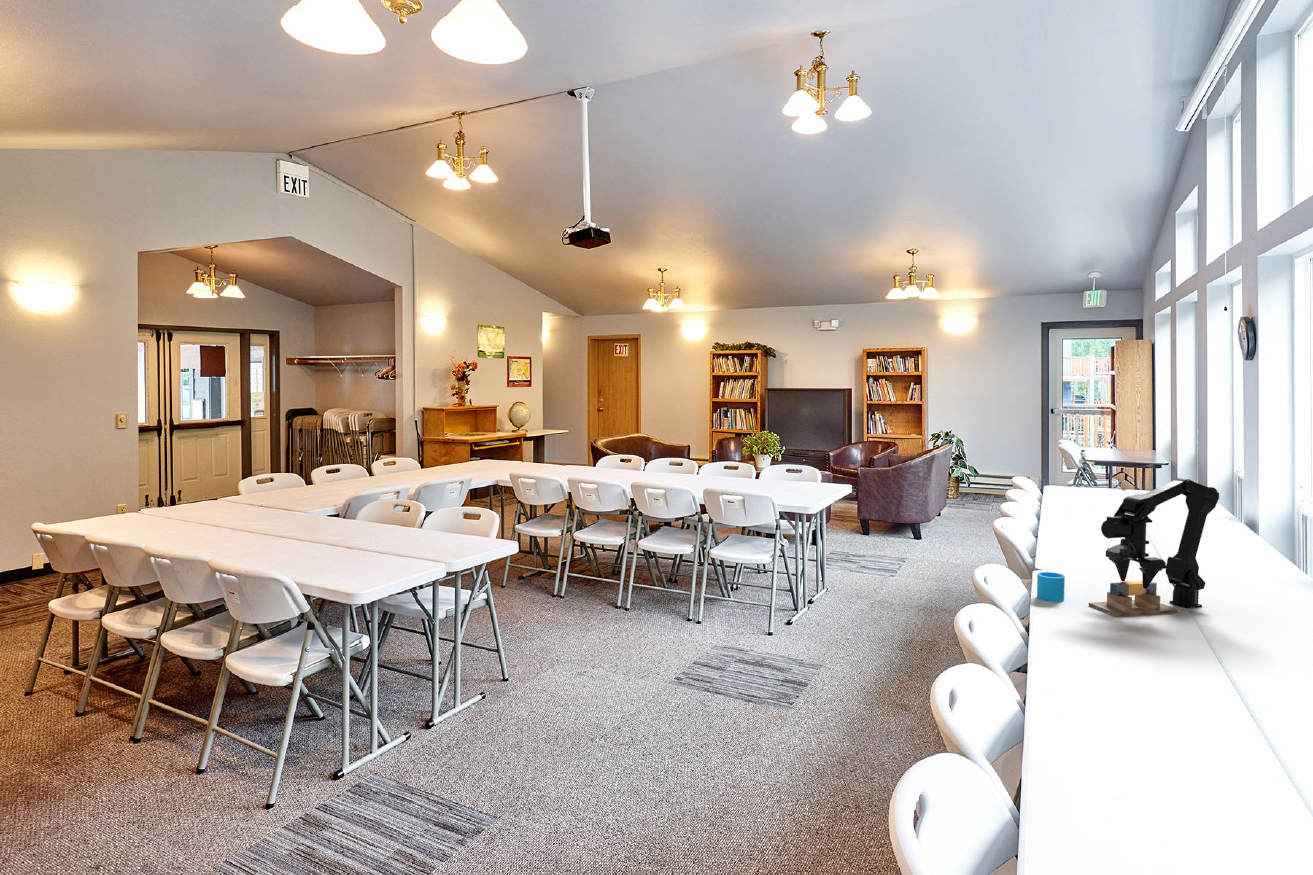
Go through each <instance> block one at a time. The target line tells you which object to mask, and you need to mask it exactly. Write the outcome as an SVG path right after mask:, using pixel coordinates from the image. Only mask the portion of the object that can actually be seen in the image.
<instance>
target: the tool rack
mask: <svg viewBox="0 0 1313 875" xmlns="http://www.w3.org/2000/svg"><path fill="white" fill-rule="evenodd" d="M1088 607H1090V608H1093V609H1095V610H1098V611H1101V612H1102V613H1103V612H1104V613H1105V614H1107V615H1110V616H1113V617H1116V618H1118V617H1119V618H1120V617H1121V618H1122V617H1133V616H1134V617H1135V616H1136V617H1137V616H1150V615H1164V614H1165V615H1166V614H1178V613H1180V609H1179V608H1175V607H1173V606H1171V605H1166V604H1164V603H1161V595H1159V594H1157V591H1156V592H1155V591H1152V594H1147V595H1134V599H1133V597H1131V596H1128V593H1124V596H1115V595H1112V594H1110V591H1107V592H1106V601H1098V602H1097V601H1095V602H1088Z"/></svg>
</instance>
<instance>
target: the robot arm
mask: <svg viewBox="0 0 1313 875" xmlns="http://www.w3.org/2000/svg"><path fill="white" fill-rule="evenodd" d="M1180 495H1183V496H1185V504H1186V507H1187V510H1188V511H1187V515H1186V516H1187V517H1186V520H1185V524H1184V527H1183V530H1182V534H1181V539H1180V542H1179V546H1178V550H1177V552H1176V554H1174V555H1173V556H1168V557H1167V558H1166V559H1167V560H1166V561H1165V560H1164V559H1163V558H1159V557H1154V556H1152V557H1149V555H1150V554H1149V553H1147V552H1146V547H1147V546H1146V545H1150V540H1147V524H1148V523H1150V524H1151V523H1153V519H1151V518H1150V517H1149V515H1150V514H1151V513H1153V512H1154V511H1155V509H1156V508H1157V507H1158V506H1159V505H1161V504H1164V503H1165V502H1168V501H1170V500H1171V499H1174V498H1176V497H1178V496H1180ZM1219 499H1220V493H1219V491H1218V489H1217V488H1216V487H1213V486H1206V485H1204V484H1200V483H1198V482H1195V481H1194V480H1191V479H1188V478H1180V477H1177V478H1174V479H1173V480H1172V481H1170V482H1168V483H1166V484H1164V485H1161V486H1159V487H1157V488H1155V489H1153V490H1152V489H1151V490H1150V491H1148V492H1146V493H1140V494H1132V495H1128V496H1126V497H1124V499H1123V500H1122V502H1121V503H1120V506H1119V507H1118V509H1117V510H1116V512H1115V513H1114V515H1113V516H1109V515H1108V516H1107V517H1106V520H1104V521H1103V523H1102V524H1101V526H1100V531H1101V533H1102V535H1103V536H1104V537H1105V538H1106V539H1119V538H1121V540H1120V543H1119V544H1116V545H1114V546H1111V547H1109V548H1107V549H1106V550H1105V557H1106V558H1108V560H1109V561H1111V562H1112V563H1113V564H1114V566H1115V567H1116V570H1117V573H1118V576H1119V578H1120V581H1121V582H1125V581H1126V579H1127V575H1128V573H1129V572H1128V571H1129V568H1130V563H1131V561H1133V562H1136V563H1138V565H1139V567H1138V569H1139V570H1140V572H1141V576H1142V580H1141V581H1143V588H1144V589H1147V588H1148V586H1149V585H1150V583H1151V582H1153V580H1154V579H1155V577H1156V576H1157V575H1158V574H1159V572H1160V571H1163V570H1165V574H1166V576H1167V580H1168V582H1169V584H1172V585H1173V590H1172V600H1169V603H1171V604H1173V605H1176V606H1179V607H1182V608H1185V609H1186V608H1201V607H1203V604H1200V603H1199V591H1201V590H1204V589H1205V586H1206V582H1205V580H1204V579H1203V578H1202V577H1201V576H1200V575H1199V572H1200V571H1199V569H1200V566H1199V563H1198V560H1197V553H1198V551H1199V547H1200V542H1201V539H1202V535H1203V531H1204V529H1205V528H1204V527H1205V524H1206V520H1207V517H1208V515H1209V514H1210V513H1211V512H1212V511H1213V510H1214V509H1215V508H1216V507H1217V504H1218V501H1219Z"/></svg>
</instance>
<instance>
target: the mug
mask: <svg viewBox="0 0 1313 875" xmlns="http://www.w3.org/2000/svg"><path fill="white" fill-rule="evenodd" d="M1065 577H1066V576H1065V575H1064V574H1062V573H1058V572H1049V571H1042V572H1037V576H1036V579H1037V582H1036V598H1037V599H1038V600H1040V601H1043V602H1049V603H1062V602H1064V601H1065V582H1066V579H1065Z"/></svg>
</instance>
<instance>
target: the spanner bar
mask: <svg viewBox="0 0 1313 875" xmlns="http://www.w3.org/2000/svg"><path fill="white" fill-rule="evenodd" d="M1157 584H1158V583H1157V582H1154V581H1152V582H1151V583H1150V585H1149V586H1148V588H1147V589H1144V588H1143V580H1141V581H1140V580H1129V581H1126V580H1125V581H1121V582H1110V584H1109V586H1110V588H1109V592H1110V594H1112V595H1115V596H1124V593H1128V596H1129V597H1131V596H1135V595H1147V594H1152V591H1155V592H1156V593H1157V588H1158V587H1157Z"/></svg>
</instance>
